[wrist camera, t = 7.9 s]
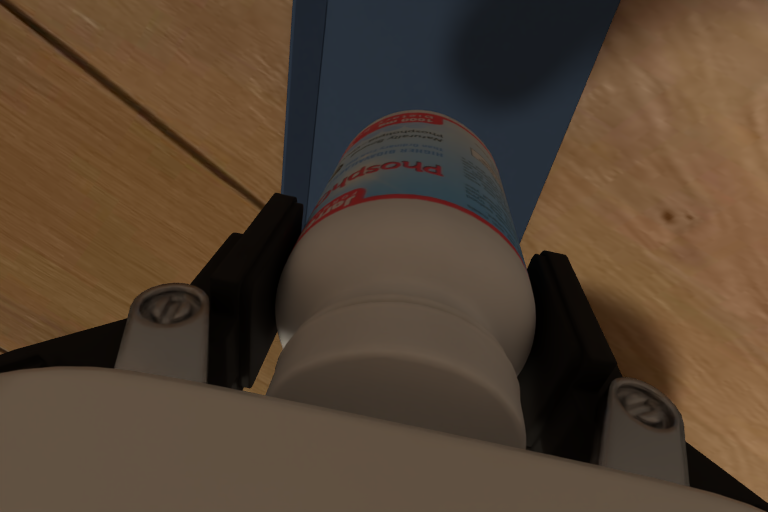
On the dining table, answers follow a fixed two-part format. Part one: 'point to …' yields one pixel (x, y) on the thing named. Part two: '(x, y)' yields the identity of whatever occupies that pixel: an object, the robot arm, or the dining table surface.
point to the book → (439, 80)
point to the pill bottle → (410, 287)
